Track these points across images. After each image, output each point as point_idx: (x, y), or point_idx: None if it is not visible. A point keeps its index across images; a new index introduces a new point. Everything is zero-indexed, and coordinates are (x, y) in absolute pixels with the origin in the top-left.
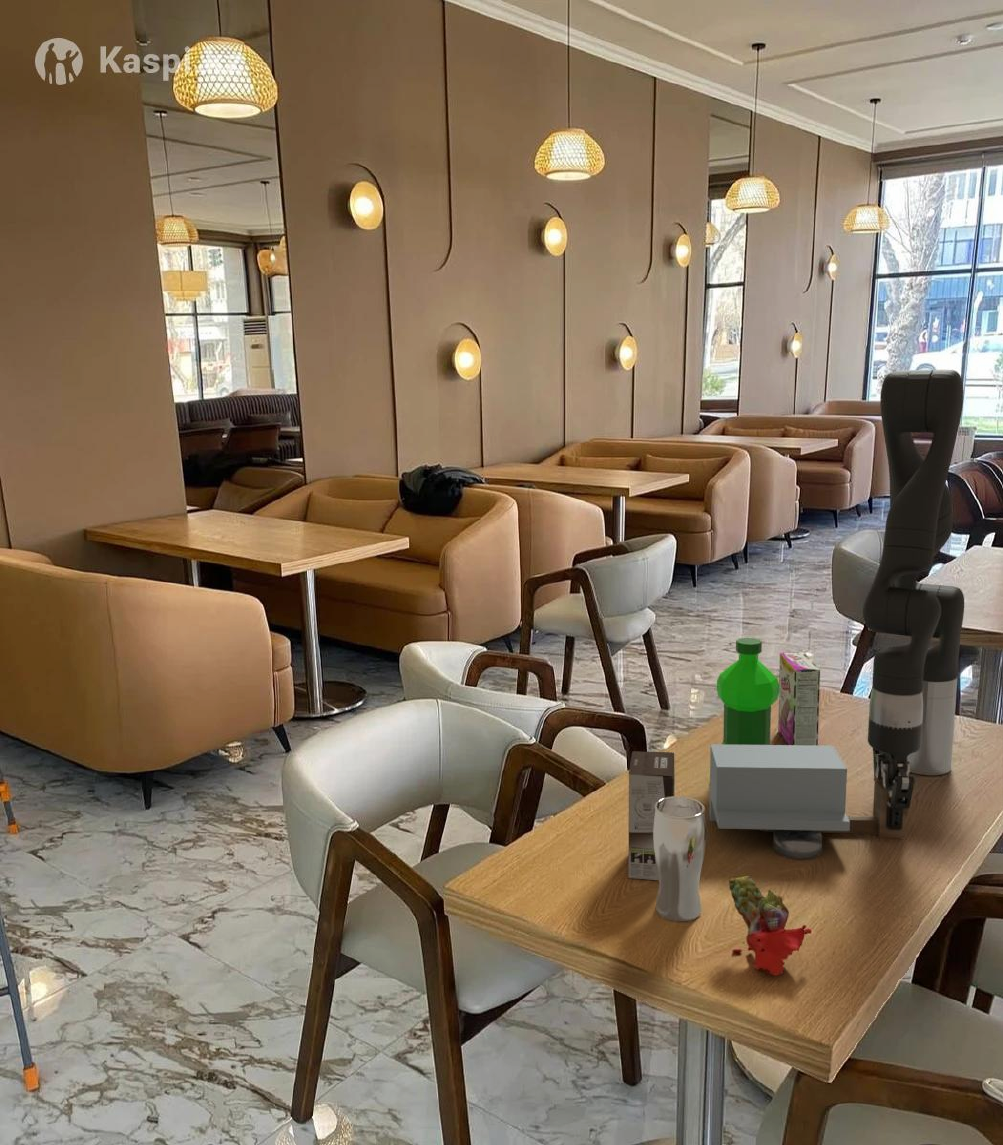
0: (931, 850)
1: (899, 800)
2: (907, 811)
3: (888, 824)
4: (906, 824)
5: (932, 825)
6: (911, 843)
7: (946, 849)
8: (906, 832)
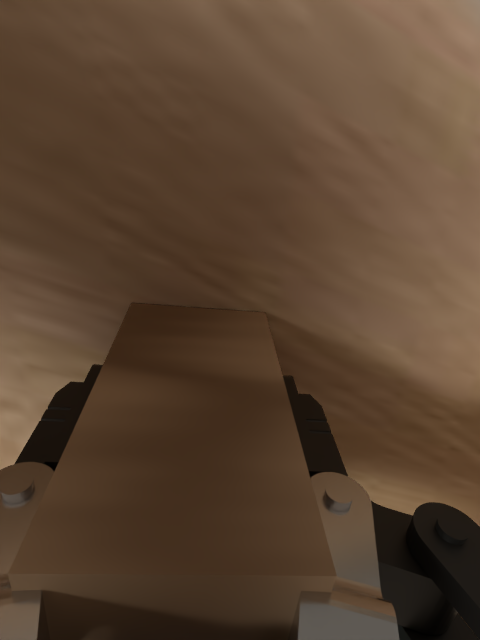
0: (402, 239)
1: (441, 614)
2: (288, 404)
3: None
4: (275, 353)
5: (103, 96)
6: (317, 306)
7: (411, 152)
8: (268, 327)
